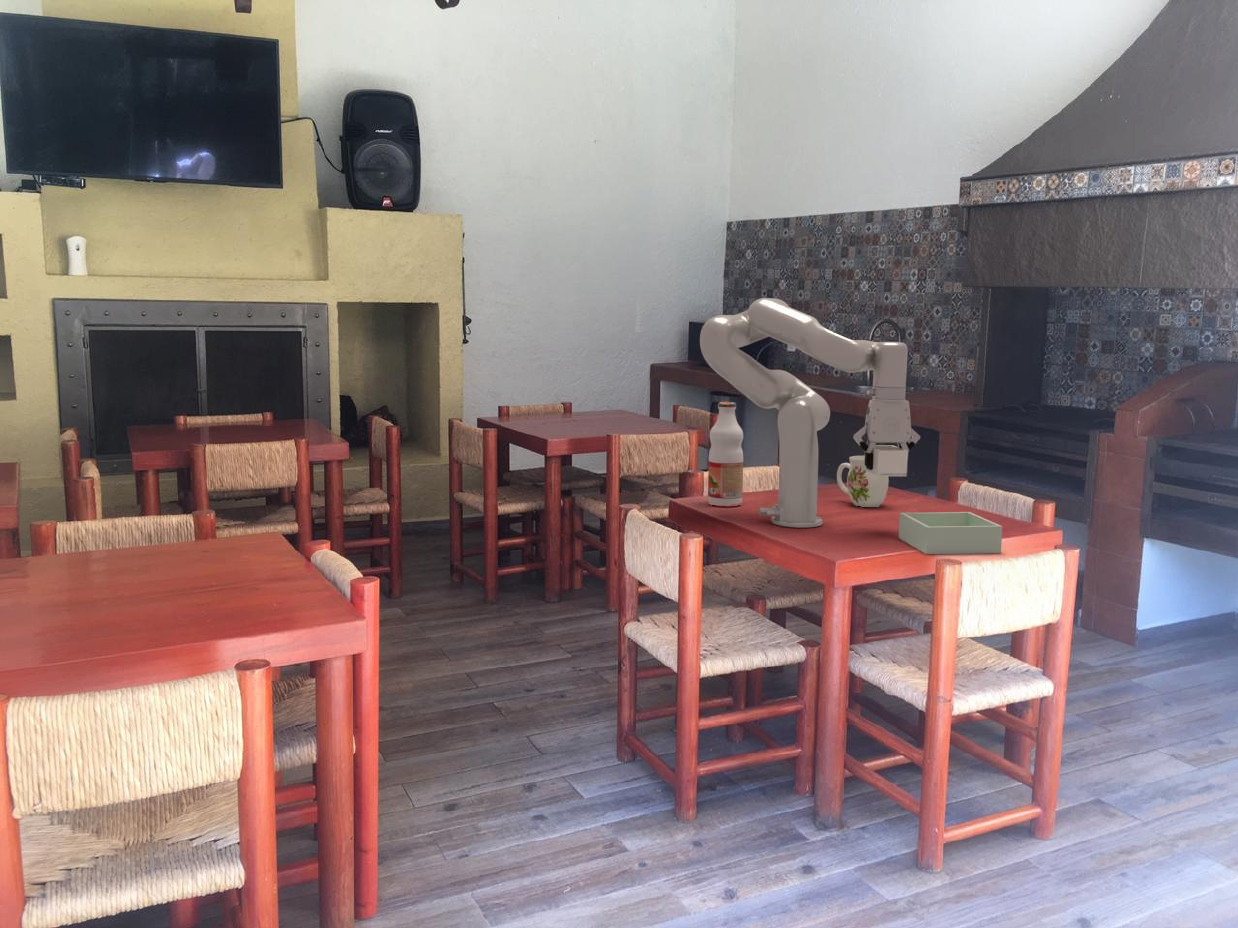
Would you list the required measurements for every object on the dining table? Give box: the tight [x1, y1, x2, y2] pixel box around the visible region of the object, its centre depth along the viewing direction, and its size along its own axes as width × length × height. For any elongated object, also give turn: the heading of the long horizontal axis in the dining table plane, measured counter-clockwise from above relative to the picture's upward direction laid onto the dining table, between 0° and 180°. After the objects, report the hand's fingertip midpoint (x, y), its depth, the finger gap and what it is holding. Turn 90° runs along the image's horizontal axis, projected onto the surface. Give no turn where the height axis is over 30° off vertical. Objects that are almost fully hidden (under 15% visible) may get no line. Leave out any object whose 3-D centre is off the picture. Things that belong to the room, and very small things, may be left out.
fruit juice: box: [707, 401, 744, 505], centre depth 289 cm, size 9×9×28 cm
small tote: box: [864, 444, 909, 477], centre depth 253 cm, size 7×10×6 cm
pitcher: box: [836, 455, 890, 508], centre depth 291 cm, size 11×18×14 cm, turn 43°
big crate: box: [898, 511, 1003, 555], centre depth 241 cm, size 17×17×6 cm
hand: (885, 468), depth 253 cm, fingers closed on small tote, 7 cm apart
